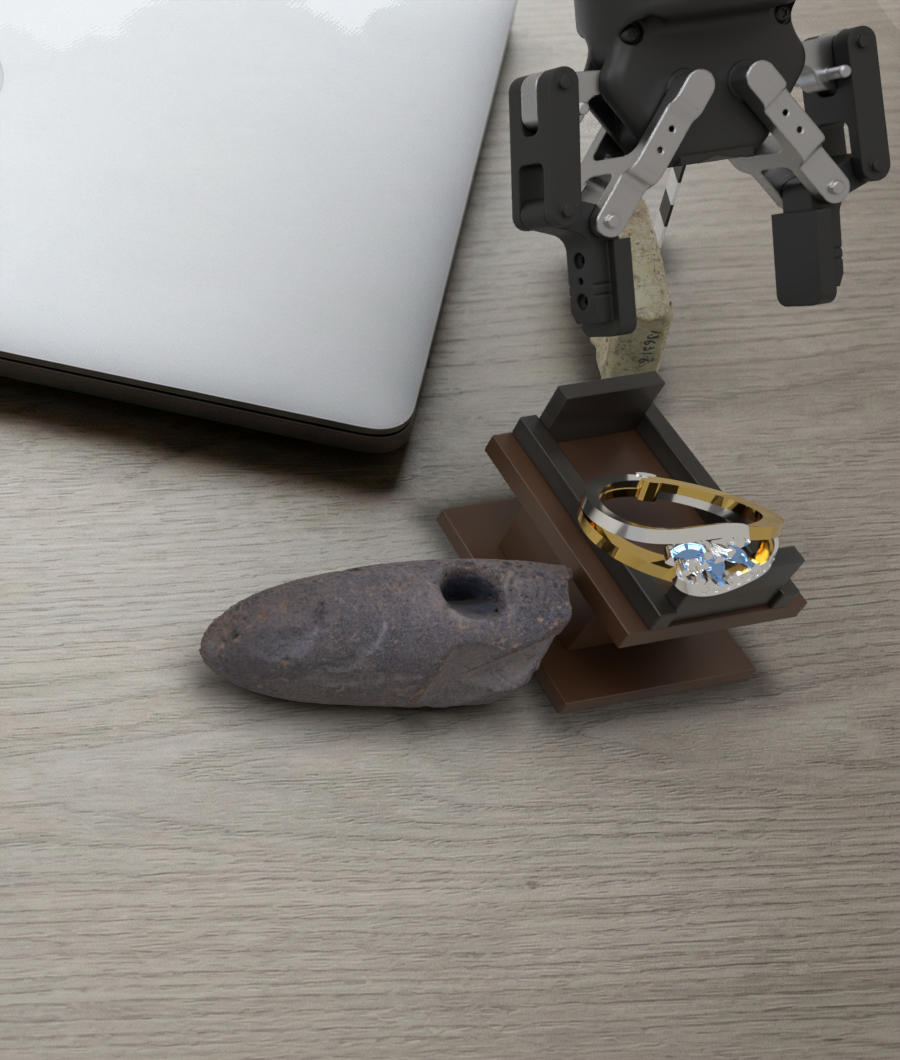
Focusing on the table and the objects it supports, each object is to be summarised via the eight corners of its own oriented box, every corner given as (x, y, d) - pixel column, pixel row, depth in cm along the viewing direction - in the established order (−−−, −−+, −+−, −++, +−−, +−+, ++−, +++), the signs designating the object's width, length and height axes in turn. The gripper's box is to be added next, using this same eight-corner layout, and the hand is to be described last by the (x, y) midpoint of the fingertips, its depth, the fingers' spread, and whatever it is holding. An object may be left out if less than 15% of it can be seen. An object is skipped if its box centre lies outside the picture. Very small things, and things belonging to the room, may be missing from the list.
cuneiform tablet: (649, 250, 91) (693, 411, 84) (557, 253, 92) (592, 411, 85) (682, 142, 86) (732, 302, 78) (583, 146, 87) (623, 305, 80)
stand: (609, 493, 81) (699, 359, 74) (746, 682, 74) (860, 555, 67) (433, 522, 80) (508, 389, 72) (556, 717, 73) (651, 591, 66)
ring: (543, 505, 72) (613, 593, 65) (566, 436, 71) (641, 519, 64) (713, 525, 72) (803, 617, 65) (741, 456, 70) (835, 542, 63)
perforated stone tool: (194, 729, 72) (237, 634, 67) (172, 628, 76) (212, 531, 70) (548, 732, 72) (620, 638, 67) (511, 631, 76) (576, 534, 70)
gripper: (573, -109, 60) (610, 346, 62) (931, -154, 62) (956, 290, 64) (447, -57, 68) (483, 348, 70) (770, -99, 69) (796, 298, 71)
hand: (709, 320), depth 67 cm, fingers open, 8 cm apart
